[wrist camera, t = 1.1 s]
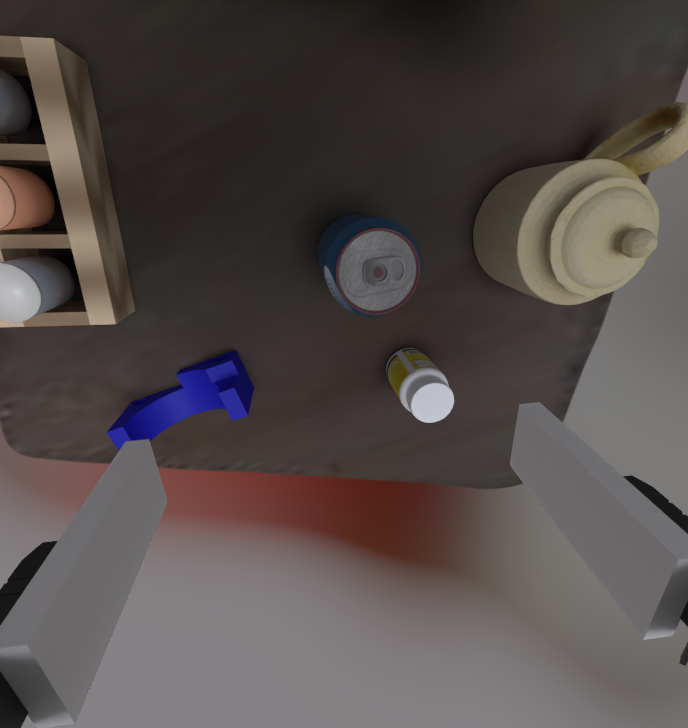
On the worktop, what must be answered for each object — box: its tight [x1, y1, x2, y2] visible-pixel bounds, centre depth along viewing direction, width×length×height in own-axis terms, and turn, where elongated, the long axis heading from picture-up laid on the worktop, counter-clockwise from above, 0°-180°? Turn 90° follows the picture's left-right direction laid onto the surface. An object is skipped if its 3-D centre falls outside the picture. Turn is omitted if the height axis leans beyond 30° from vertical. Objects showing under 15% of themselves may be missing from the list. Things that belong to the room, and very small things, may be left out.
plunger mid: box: [0, 166, 55, 230], centre depth 27 cm, size 4×4×5 cm
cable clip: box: [107, 350, 254, 450], centre depth 38 cm, size 12×4×6 cm, turn 108°
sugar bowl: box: [473, 102, 688, 305], centre depth 31 cm, size 15×11×15 cm
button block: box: [0, 36, 136, 327], centre depth 31 cm, size 19×9×4 cm, turn 0°
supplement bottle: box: [386, 348, 454, 423], centre depth 39 cm, size 5×5×8 cm
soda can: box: [318, 214, 421, 317], centre depth 32 cm, size 7×7×12 cm
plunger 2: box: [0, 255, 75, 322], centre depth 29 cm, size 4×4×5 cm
